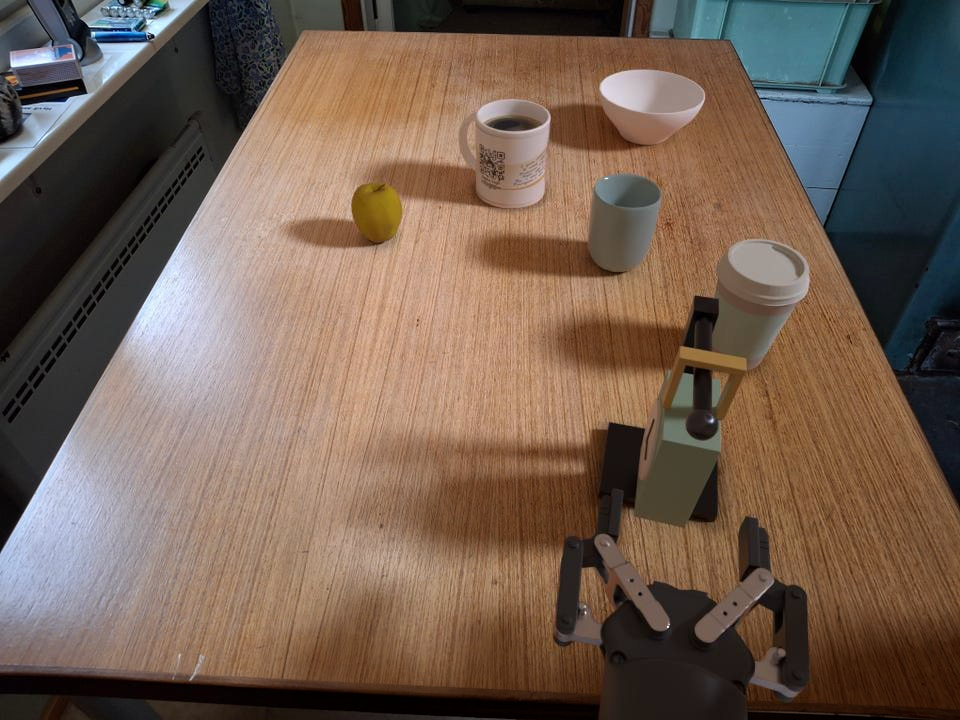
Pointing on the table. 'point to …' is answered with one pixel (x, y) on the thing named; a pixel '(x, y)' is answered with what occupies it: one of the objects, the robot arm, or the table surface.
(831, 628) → the table surface
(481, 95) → the table surface
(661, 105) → the bowl
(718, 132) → the table surface
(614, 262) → the cup
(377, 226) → the apple
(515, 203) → the mug
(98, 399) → the table surface
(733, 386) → the green box with handle
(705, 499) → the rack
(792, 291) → the coffee cup
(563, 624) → the robot arm
